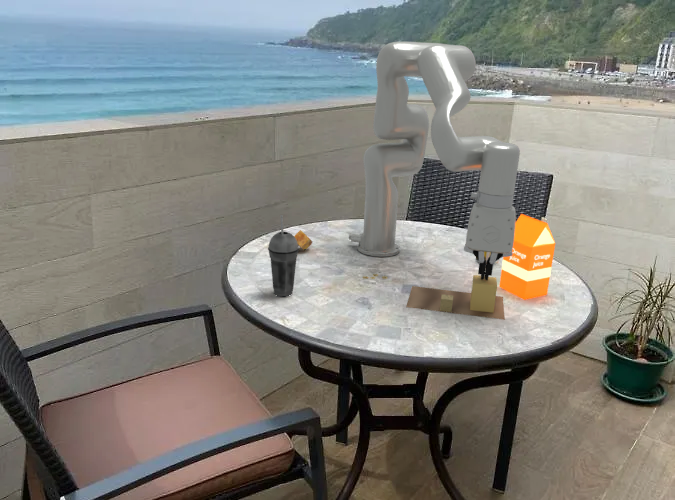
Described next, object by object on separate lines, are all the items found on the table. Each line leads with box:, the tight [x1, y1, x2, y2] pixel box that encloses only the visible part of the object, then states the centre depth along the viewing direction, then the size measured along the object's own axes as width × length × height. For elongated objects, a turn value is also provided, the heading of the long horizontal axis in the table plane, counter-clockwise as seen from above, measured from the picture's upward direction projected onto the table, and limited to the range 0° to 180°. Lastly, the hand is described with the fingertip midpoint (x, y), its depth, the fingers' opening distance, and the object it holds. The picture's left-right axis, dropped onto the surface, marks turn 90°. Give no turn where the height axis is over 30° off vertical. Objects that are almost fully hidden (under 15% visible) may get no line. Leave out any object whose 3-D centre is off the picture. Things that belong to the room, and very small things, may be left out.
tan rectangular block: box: [470, 274, 498, 313], centre depth 135 cm, size 5×5×7 cm
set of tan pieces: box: [362, 273, 388, 280], centre depth 151 cm, size 5×5×2 cm
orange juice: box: [499, 213, 556, 301], centre depth 143 cm, size 8×9×20 cm
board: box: [405, 285, 506, 321], centre depth 139 cm, size 22×13×1 cm, turn 77°
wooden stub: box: [439, 295, 453, 313], centre depth 134 cm, size 3×3×3 cm
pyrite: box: [293, 229, 313, 251], centre depth 172 cm, size 5×7×4 cm
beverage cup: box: [267, 214, 300, 297], centre depth 139 cm, size 7×7×20 cm
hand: (484, 277), depth 134 cm, fingers closed
